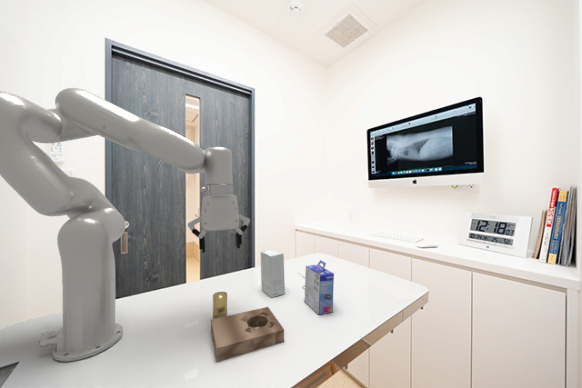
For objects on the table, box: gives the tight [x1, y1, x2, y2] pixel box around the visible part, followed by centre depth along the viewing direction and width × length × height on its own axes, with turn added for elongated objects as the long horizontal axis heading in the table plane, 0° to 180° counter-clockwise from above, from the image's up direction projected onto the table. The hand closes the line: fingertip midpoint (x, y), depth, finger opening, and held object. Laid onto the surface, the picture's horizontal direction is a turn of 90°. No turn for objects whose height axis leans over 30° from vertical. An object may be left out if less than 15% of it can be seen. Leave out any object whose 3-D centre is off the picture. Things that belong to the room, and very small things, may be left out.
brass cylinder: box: [212, 291, 228, 319], centre depth 65 cm, size 4×4×7 cm
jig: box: [210, 306, 285, 362], centre depth 58 cm, size 16×12×3 cm
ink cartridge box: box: [304, 259, 335, 316], centre depth 73 cm, size 10×6×14 cm, turn 24°
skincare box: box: [260, 248, 286, 298], centre depth 83 cm, size 8×6×15 cm
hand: (221, 249), depth 65 cm, fingers open, 9 cm apart
